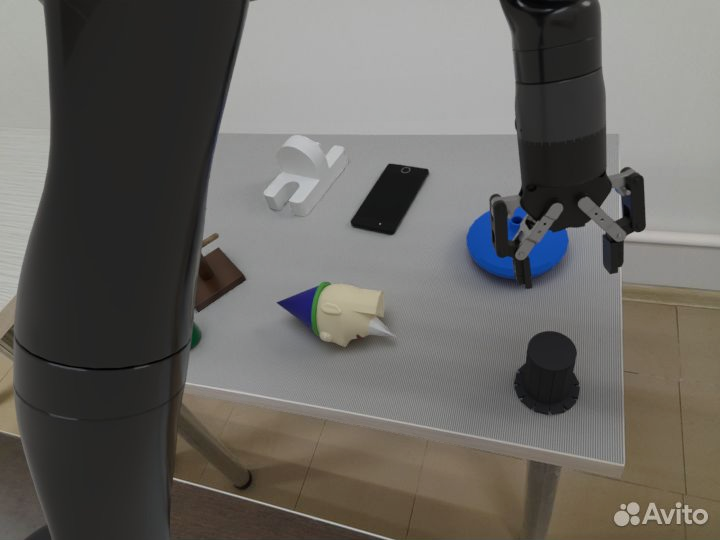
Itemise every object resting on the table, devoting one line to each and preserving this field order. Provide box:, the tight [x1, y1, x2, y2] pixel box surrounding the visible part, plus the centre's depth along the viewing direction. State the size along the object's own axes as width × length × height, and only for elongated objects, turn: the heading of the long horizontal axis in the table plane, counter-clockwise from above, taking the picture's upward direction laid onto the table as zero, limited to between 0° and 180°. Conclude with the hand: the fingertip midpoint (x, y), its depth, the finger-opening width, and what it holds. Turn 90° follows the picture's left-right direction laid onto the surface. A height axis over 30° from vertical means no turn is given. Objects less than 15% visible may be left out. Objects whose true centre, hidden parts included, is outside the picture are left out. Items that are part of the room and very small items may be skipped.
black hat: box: [513, 330, 581, 416], centre depth 66 cm, size 8×8×9 cm
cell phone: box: [350, 163, 430, 235], centre depth 100 cm, size 9×18×1 cm, turn 154°
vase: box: [466, 207, 570, 280], centre depth 84 cm, size 16×16×7 cm
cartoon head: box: [276, 281, 397, 348], centre depth 80 cm, size 9×10×20 cm
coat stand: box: [194, 232, 247, 313], centre depth 88 cm, size 11×10×20 cm
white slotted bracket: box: [263, 134, 349, 218], centre depth 104 cm, size 10×18×11 cm, turn 152°
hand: (568, 277), depth 54 cm, fingers open, 8 cm apart
